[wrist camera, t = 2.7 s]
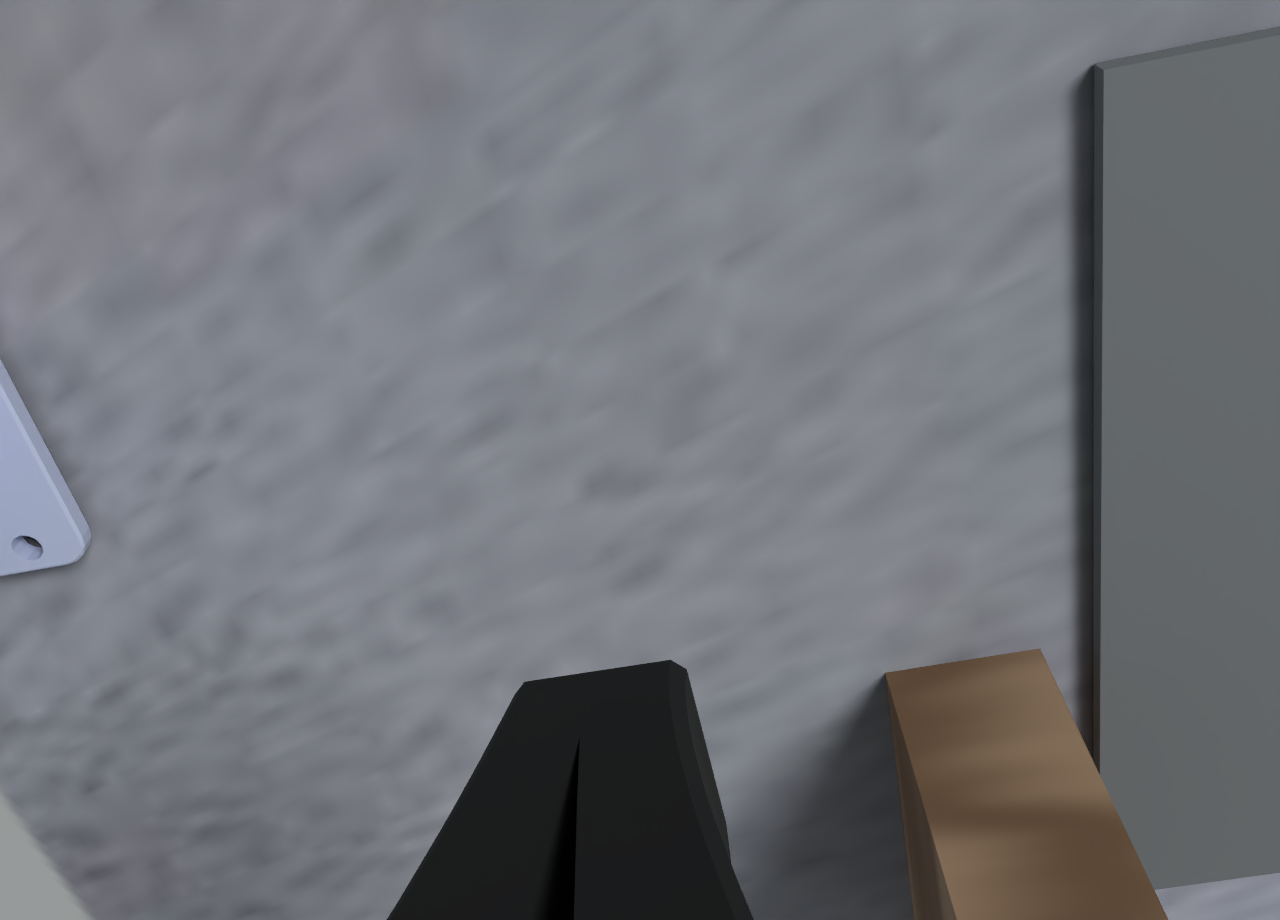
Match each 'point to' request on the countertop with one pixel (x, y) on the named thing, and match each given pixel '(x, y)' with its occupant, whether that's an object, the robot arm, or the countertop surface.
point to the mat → (1188, 455)
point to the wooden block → (1006, 799)
